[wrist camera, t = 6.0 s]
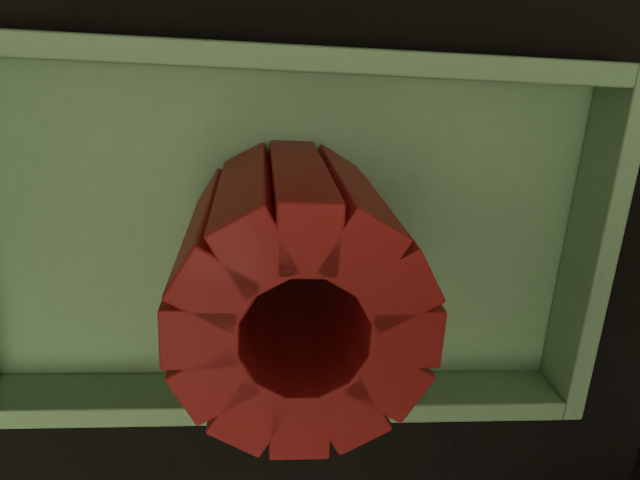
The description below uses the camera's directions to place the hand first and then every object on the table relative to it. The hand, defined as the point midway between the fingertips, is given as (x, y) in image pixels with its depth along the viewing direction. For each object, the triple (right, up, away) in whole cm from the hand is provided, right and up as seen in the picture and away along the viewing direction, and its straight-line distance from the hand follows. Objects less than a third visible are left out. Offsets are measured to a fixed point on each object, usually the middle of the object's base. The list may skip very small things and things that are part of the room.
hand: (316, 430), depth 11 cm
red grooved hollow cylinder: (-1, +4, +12) cm, 12 cm away
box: (-1, +4, +12) cm, 13 cm away
